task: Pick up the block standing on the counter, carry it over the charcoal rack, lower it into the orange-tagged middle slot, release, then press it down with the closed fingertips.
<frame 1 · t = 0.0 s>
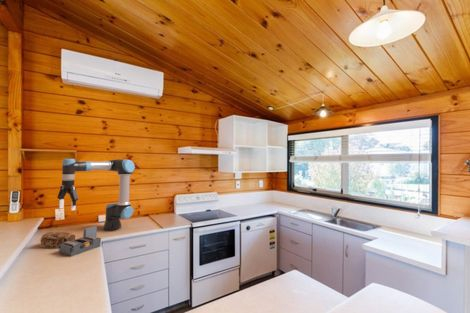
hand: (67, 209, 170), 28 cm above the worktop, fingers open, 13 cm apart
rack: (80, 249, 168), on the worktop
block: (89, 240, 187), on the worktop
bread: (58, 246, 174), on the worktop
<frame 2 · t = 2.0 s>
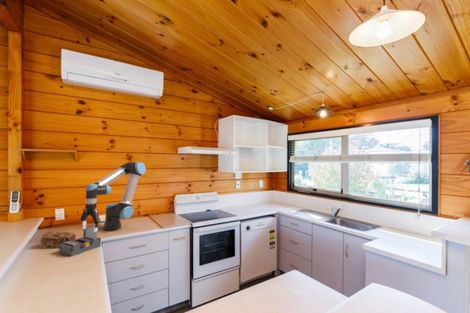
hand: (89, 230, 186), 8 cm above the worktop, fingers open, 13 cm apart
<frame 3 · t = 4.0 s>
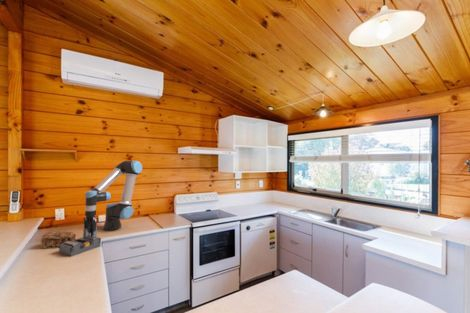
hand: (89, 239, 187), 0 cm above the worktop, fingers closed on block, 3 cm apart
block: (89, 240, 187), on the worktop, touching gripper
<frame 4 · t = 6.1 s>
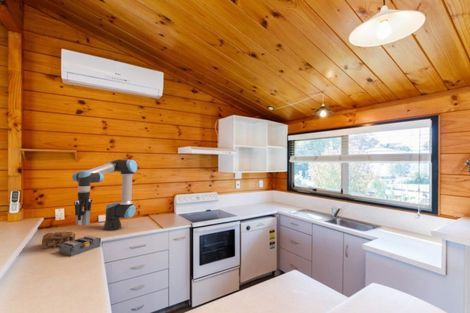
hand: (82, 223, 171), 17 cm above the worktop, fingers closed on block, 3 cm apart
block: (82, 224, 171), point 17 cm above the worktop, touching gripper
when the fingers open (7 cm above the worktop, at t = 8.4 s): block drops 4 cm, resting on rack.
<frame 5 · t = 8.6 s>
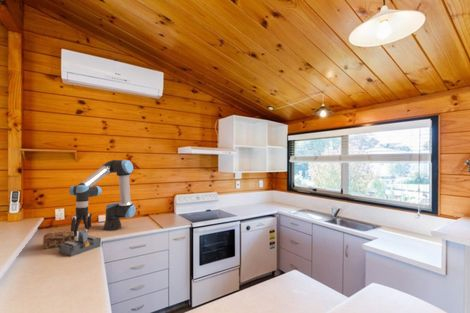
hand: (80, 239, 168), 7 cm above the worktop, fingers open, 6 cm apart
block: (81, 245, 168), point 3 cm above the worktop, touching rack
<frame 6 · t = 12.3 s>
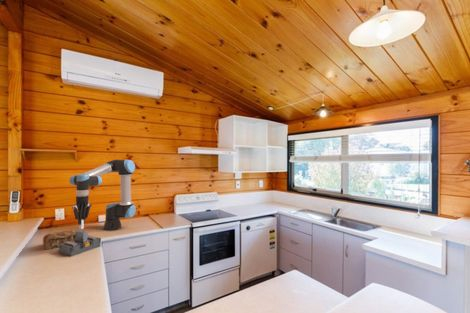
hand: (81, 228, 168), 15 cm above the worktop, fingers closed
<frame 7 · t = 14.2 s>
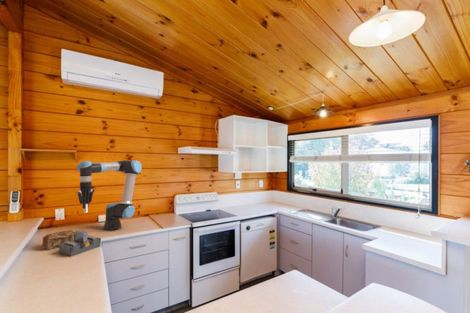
hand: (85, 212, 179), 24 cm above the worktop, fingers closed
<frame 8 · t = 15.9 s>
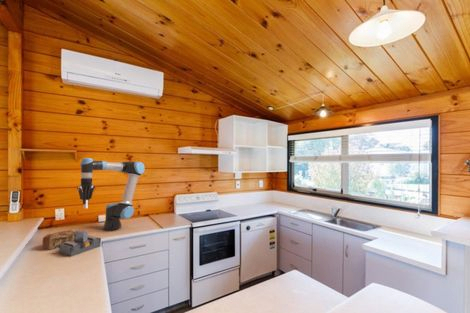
hand: (85, 208, 182), 26 cm above the worktop, fingers closed
at the end: block 0.1 cm off-centre on the rack, point 3.0 cm above the rack's base; block tilted 0°; the gripper is holding nothing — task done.
